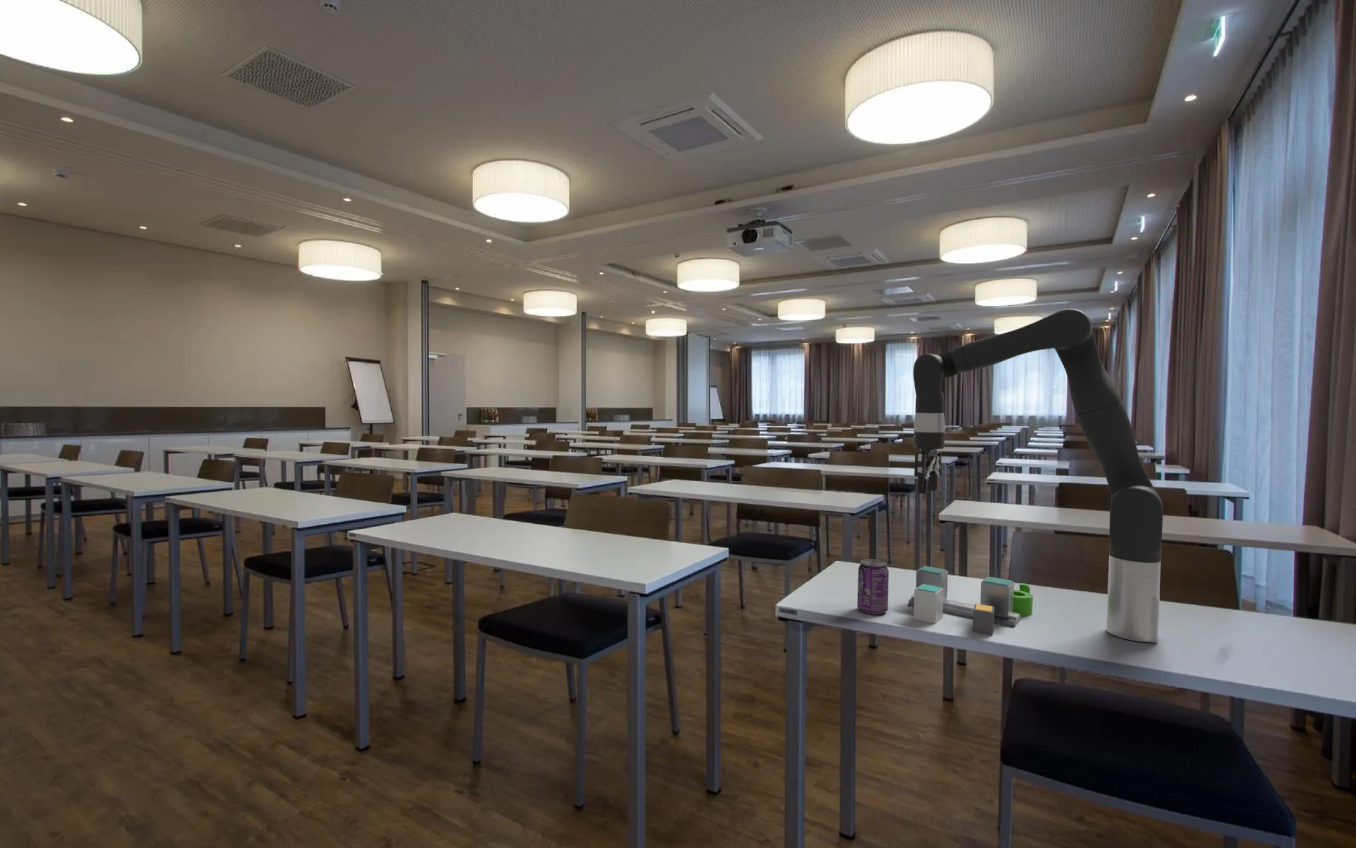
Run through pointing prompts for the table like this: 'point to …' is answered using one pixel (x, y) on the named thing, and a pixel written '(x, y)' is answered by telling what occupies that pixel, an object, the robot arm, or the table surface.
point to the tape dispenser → (1023, 600)
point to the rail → (992, 594)
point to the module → (928, 603)
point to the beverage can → (873, 586)
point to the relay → (983, 619)
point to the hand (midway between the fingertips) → (927, 492)
